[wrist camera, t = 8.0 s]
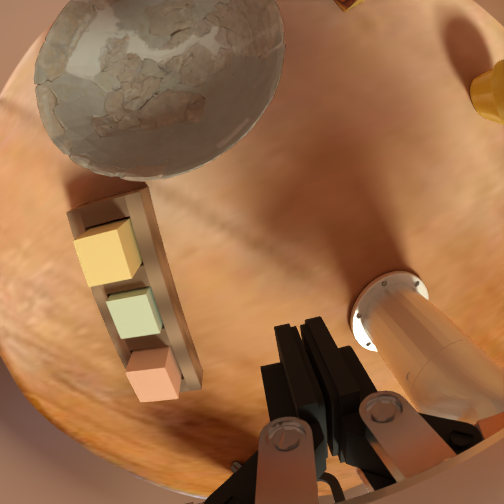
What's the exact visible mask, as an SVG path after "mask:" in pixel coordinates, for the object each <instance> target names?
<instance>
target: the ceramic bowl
mask: <svg viewBox="0 0 504 504" xmlns="http://www.w3.org/2000/svg"><path fill="white" fill-rule="evenodd" d="M45 40H46V42H44V43H43V45H42V47H41V49H40V52H39V55H38V58H37V60H36V62H35V74H34V84H37V85H38V86H37V87H36V89H35V92H36V97H37V105H38V109H39V113H40V117H41V120H42V123H43V125H44V127H45V129H46V132H47V134H48V135H49V137H50V139H51V140H52V141H53V143H54V144H55V145H56V146H57V147H58V148H59V149H60V150H61V151H62V152H63V153H64V154H67V155H68V156H69V158H70V159H71V160H72V161H73V162H75V163H77V164H78V165H80V166H82V167H83V168H88V169H89V170H91V171H93V172H94V173H97V174H101V175H106V176H110V177H113V176H118V177H120V178H121V179H125V180H129V181H142V182H144V181H150V180H158V179H167V178H171V177H174V176H177V175H180V174H183V173H187V172H189V171H192V170H194V169H197V168H199V167H202V166H203V165H205V164H207V163H209V162H210V161H212V160H214V159H216V158H217V157H218V156H220V155H221V154H223V153H224V152H225V151H227V150H228V149H230V148H231V147H232V146H234V145H235V144H236V143H237V142H238V141H239V140H241V139H242V138H243V137H244V136H245V135H246V134H247V133H248V132H249V131H250V130H251V129H252V128H253V127H254V126H255V124H256V123H257V121H258V120H259V119H260V117H261V116H262V114H263V113H264V111H265V110H266V108H267V107H268V105H269V104H270V102H271V100H272V98H273V96H274V94H275V92H276V89H277V87H278V84H279V81H280V77H281V74H282V66H283V60H284V53H285V46H286V45H285V44H284V24H283V20H282V17H281V14H280V11H279V7H278V5H277V3H276V1H275V0H71V1H70V2H69V3H68V4H67V5H66V6H65V7H64V9H63V10H62V11H61V13H60V14H59V15H58V17H57V19H56V20H55V22H54V24H53V25H52V27H51V29H50V31H49V33H48V35H47V36H46V38H45Z"/></svg>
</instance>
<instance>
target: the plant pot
mask: <svg viewBox="0 0 504 504" xmlns="http://www.w3.org/2000/svg"><path fill="white" fill-rule="evenodd" d="M470 96H471V100H472V103H473V106H474V108H475V109H476V111H477V112H478V113H479V114H480V115H481V116H482V117H484V118H486V119H489V120H492V121H495V122H497V123H500V124H503V125H504V60H501V61H499V62H497V63H496V65H495V66H494V68H493V69H491V70H489V71H487V72H485V73H483V74H481V75H479V76H477V77H476V78H474V79H473V81H472V83H471V86H470Z"/></svg>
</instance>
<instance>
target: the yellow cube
mask: <svg viewBox="0 0 504 504" xmlns="http://www.w3.org/2000/svg"><path fill="white" fill-rule="evenodd" d="M73 243H74V246H75V249H76V252H77V255H78V258H79V261H80V264H81V267H82V270H83V273H84V275H85V278H86V281H87V284H88V286H89V287H92V286H97V285H102V284H107V283H112V282H117V281H122V280H127V279H132V278H133V276H134V274H135V273H136V271H137V270H138V268H139V266H140V265H141V263H142V262H143V260H142V257H141V254H140V250H139V247H138V244H137V240H136V237H135V233H134V229H133V226H132V222H131V218H126V219H122V220H118V221H115V222H111V223H107V224H103V225H99V226H96V227H92V228H90V229H89V230H87V231H86V232H84V233H83V234H82V235H80V236H79V237H77V238H76V239H75V240H73Z"/></svg>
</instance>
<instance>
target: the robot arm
mask: <svg viewBox="0 0 504 504" xmlns="http://www.w3.org/2000/svg"><path fill="white" fill-rule="evenodd" d="M350 326H351V330H352V333H353V335H354V337H355V339H356V340H357V341H358V343H359V344H360V345H361V346H363V347H364V348H366V349H368V350H372V351H378V353H379V354H380V356H381V357H382V358H383V360H384V361H385V363H386V364H387V366H388V367H389V369H390V370H391V372H392V373H393V375H394V376H395V378H396V379H397V381H398V382H399V383H400V385H401V386H402V388H403V389H404V391H405V392H406V394H407V395H408V397H409V398H410V400H411V402H412V403H413V404H414V406H415V407H416V409H417V410H418V411H419V412H417V411H416V410H415V409H414V408H413V407H412V406H411V404H410V403H409V402H408V401H407V400H406V399H405V398H404V397H403V396H401V395H400V394H398V393H395V392H392V391H377V390H376V388H375V386H374V384H373V383H372V381H371V379H370V378H369V376H368V374H367V372H366V371H365V369H364V367H363V366H362V364H361V362H360V361H359V359H358V357H357V356H356V354H355V352H354V351H353V349H352V347H351V346H345V347H341V348H338V347H337V345H336V344H335V342H334V340H333V338H332V336H331V334H330V333H329V331H328V329H327V327H326V325H325V323H324V322H323V320H322V318H321V317H320V316H319V317H315V318H311V319H306V320H305V324H303V325H300V329H301V337H302V340H301V337H300V335H299V332H298V330H297V327H296V326H294V327H290V324H284V325H280V326H275V327H274V330H275V336H276V341H277V347H278V352H279V358H280V363H275V364H270V365H265V366H260V367H261V373H262V379H263V384H264V390H265V395H266V401H267V406H268V412H269V417H270V423H268V424H267V425H266V426H265V427H264V428H263V429H262V431H261V433H260V437H259V449H258V450H257V451H256V452H255V453H254V454H253V455H252V456H251V457H250V458H249V459H248V460H247V461H246V462H245V463H244V464H243V465H242V466H241V467H240V468H239V469H238V470H237V471H236V472H235V473H234V474H233V475H232V476H231V477H230V478H229V479H228V480H227V481H225V482H224V483H223V484H222V485H221V486H220V487H219V488H218V489H217V490H216V491H214V492H213V493H212V494H211V495H210V496H209V497H208V498H207V499H206V501H205V502H202V503H198V504H319V502H318V488H317V481H318V479H319V478H320V477H321V475H322V474H323V473H324V471H325V470H326V458H328V448H327V443H328V446H329V449H330V452H331V454H332V456H336V455H338V457H339V460H340V463H342V462H346V464H349V465H351V466H354V467H355V469H356V472H357V474H358V475H359V477H360V479H361V480H362V482H363V483H364V485H365V487H366V488H367V490H368V491H369V493H367V494H364V495H362V496H358V497H355V498H352V499H348V500H345V501H342V502H338V503H334V504H504V368H503V367H502V366H501V365H499V364H498V363H497V362H496V361H495V360H494V359H493V358H492V357H490V356H489V355H488V354H487V353H486V352H485V351H484V350H483V349H482V348H481V347H479V346H478V345H477V344H476V343H475V342H474V341H473V340H472V339H471V338H470V337H469V336H468V335H467V334H465V333H464V332H463V331H462V330H461V329H460V328H459V327H458V326H457V325H456V324H454V323H453V322H452V321H451V320H450V319H449V318H448V317H447V316H445V315H444V314H443V313H442V312H441V311H440V310H439V309H437V308H436V307H435V306H434V305H433V304H432V303H431V302H429V298H428V292H427V288H426V286H425V285H424V283H423V282H422V281H421V280H420V279H419V278H418V277H417V276H415V275H414V274H412V273H409V272H406V271H393V272H389V273H386V274H384V275H382V276H379V277H378V278H376V279H375V280H373V281H372V282H371V283H370V284H369V285H367V286H366V287H365V288H364V290H363V291H362V292H361V293H360V295H359V296H358V298H357V300H356V302H355V303H354V306H353V309H352V312H351V318H350ZM186 504H194V503H193V502H190V503H186Z"/></svg>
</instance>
